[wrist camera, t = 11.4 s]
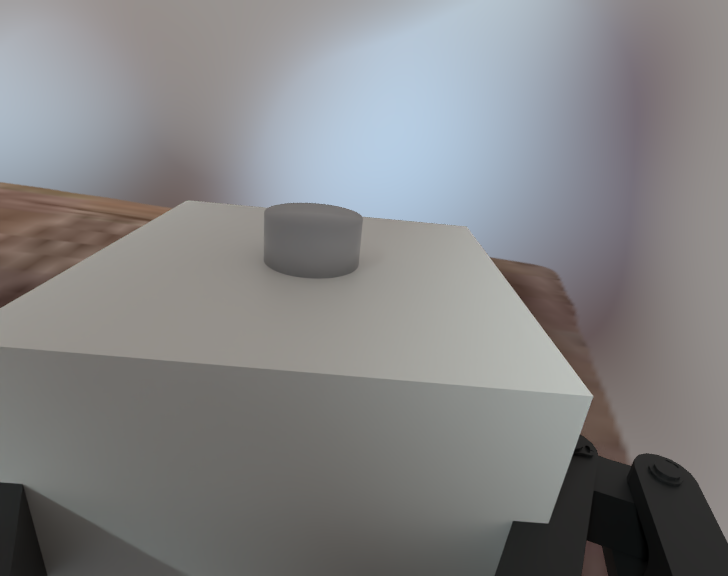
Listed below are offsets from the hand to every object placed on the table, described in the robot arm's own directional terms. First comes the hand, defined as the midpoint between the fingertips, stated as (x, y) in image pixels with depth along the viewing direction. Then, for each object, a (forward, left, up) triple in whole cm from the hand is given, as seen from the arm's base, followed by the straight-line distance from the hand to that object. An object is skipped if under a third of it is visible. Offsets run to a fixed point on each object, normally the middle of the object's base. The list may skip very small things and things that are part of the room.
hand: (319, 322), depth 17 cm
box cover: (+4, -2, -6) cm, 7 cm away
